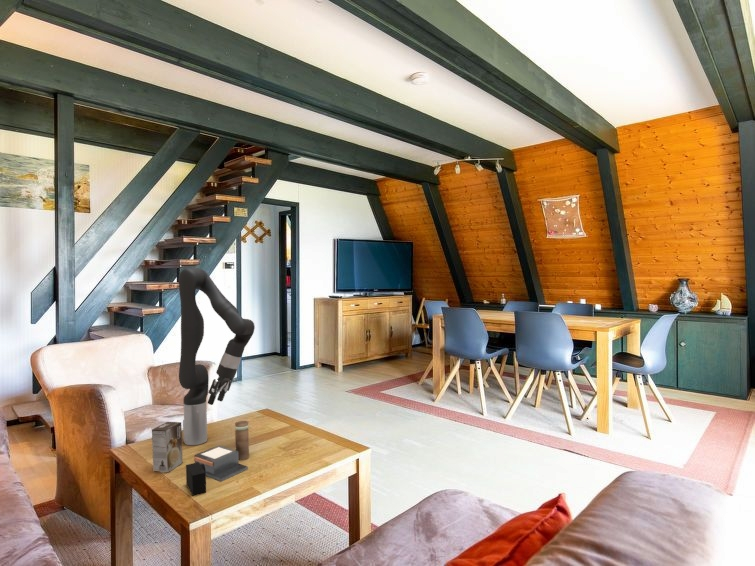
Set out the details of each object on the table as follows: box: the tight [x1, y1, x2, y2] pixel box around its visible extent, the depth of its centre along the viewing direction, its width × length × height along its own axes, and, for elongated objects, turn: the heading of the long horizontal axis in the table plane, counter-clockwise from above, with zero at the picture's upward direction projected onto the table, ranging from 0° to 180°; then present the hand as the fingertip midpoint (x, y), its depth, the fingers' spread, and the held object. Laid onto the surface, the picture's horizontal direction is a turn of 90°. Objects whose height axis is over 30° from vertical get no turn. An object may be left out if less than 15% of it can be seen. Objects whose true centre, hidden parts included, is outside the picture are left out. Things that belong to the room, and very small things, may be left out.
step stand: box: [193, 444, 249, 482], centre depth 175 cm, size 20×12×6 cm, turn 57°
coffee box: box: [151, 421, 184, 473], centre depth 176 cm, size 9×6×16 cm
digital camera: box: [185, 462, 207, 497], centre depth 160 cm, size 10×5×7 cm, turn 33°
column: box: [234, 420, 250, 461], centre depth 185 cm, size 5×5×14 cm
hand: (214, 402), depth 191 cm, fingers open, 8 cm apart
